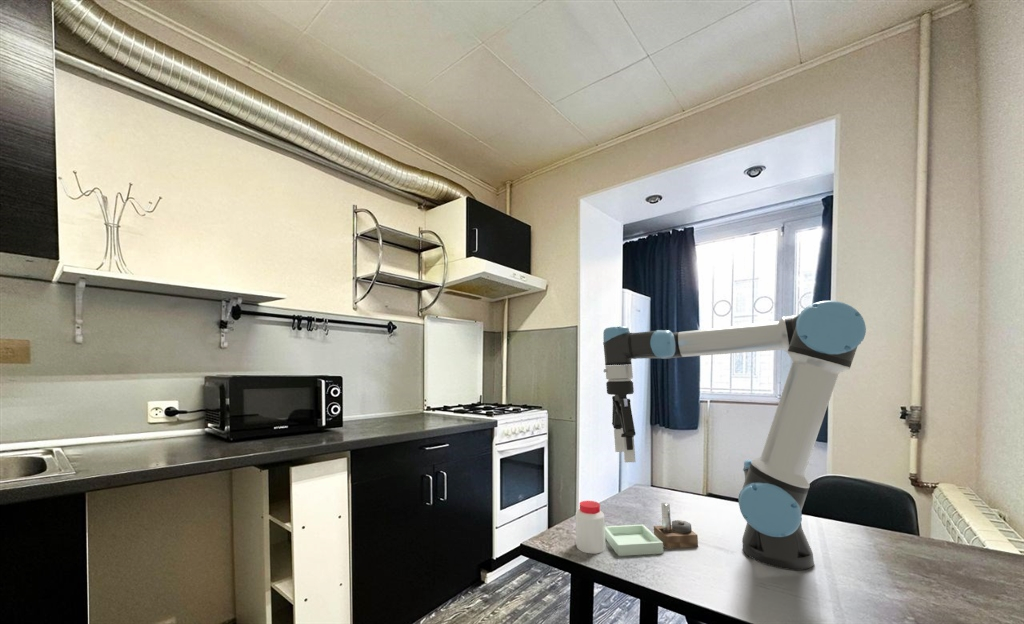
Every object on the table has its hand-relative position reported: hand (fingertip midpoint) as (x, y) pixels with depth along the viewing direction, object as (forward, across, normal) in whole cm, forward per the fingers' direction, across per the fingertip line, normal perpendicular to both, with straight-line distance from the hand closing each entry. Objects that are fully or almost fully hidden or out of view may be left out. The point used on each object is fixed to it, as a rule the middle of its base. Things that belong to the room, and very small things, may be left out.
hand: (624, 456), depth 113 cm
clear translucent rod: (+23, -1, +10) cm, 25 cm away
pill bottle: (+23, +3, -11) cm, 26 cm away
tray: (+23, 0, 0) cm, 23 cm away
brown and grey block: (+23, -2, +12) cm, 26 cm away
